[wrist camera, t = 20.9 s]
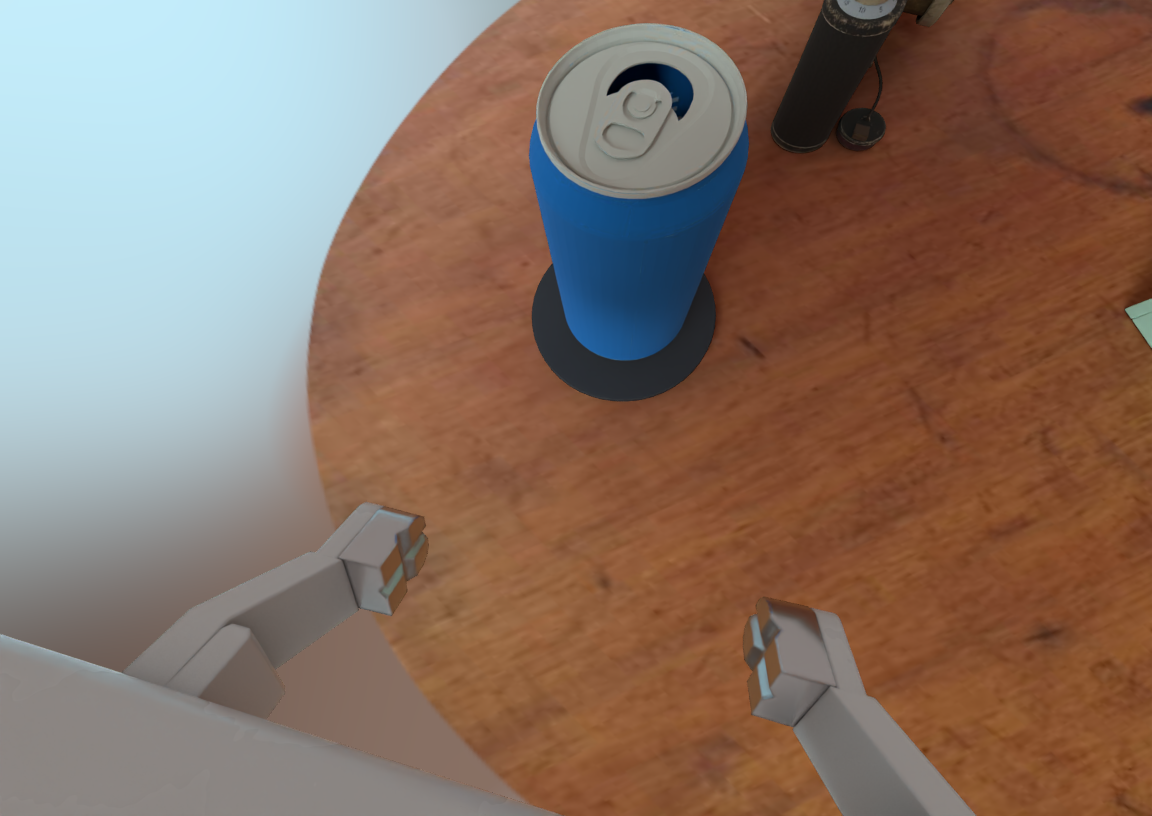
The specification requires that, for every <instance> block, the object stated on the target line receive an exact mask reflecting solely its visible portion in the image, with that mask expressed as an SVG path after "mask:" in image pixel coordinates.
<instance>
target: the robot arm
mask: <svg viewBox="0 0 1152 816" xmlns="http://www.w3.org/2000/svg"><path fill="white" fill-rule="evenodd" d="M425 526H426V524H425V519H424V517H423V516H420V515H416V514H412V513H408V512H404V511H401V510H397V509H393V508H389V507H386V506H382V505H378V504H374V503H369V502H365V503H363V504H361V505H359V506H358V507H357V508H356V509H355V510H354V512H353V513H352V514H351V515H350V516H349V517H348V518H347V519H346V520H345V521H344V522H343V524H342V525H341V526H340V527H339V528H338V529H337V530H336V531H335V532H334V534H333V535H332V536H331V537H330V538H329V539H328V540H327V541H326V542H325V543H324V544H323V545H322V547H321V548H320V549H319V550H318V551H317V552H316V553H315V552H308V553H306V554H304V555H302V556H300V557H298V558H296V559H294V560H291V561H289V562H287V563H285V564H283V565H281V566H279V567H277V568H274V569H272V570H270V571H268V572H266V573H264V574H262V575H260V576H258V577H256V578H254V579H251V580H249V581H248V582H245V583H243V584H241V585H239V586H237V587H235V588H233V589H231V590H228V591H226V592H224V593H222V594H220V595H218V596H216V597H214V598H212V599H209V600H208V601H205V602H203V603H201V604H199V605H197V606H195V607H193V608H190V609H189V610H188V611H187V612H186V613H185V614H184V615H183V616H182V617H181V618H180V619H179V620H177V622H175V623H174V624H173V625H172V626H171V627H170V628H169V629H168V630H167V631H166V632H165V633H164V634H163V635H161V636H160V637H159V638H158V639H157V640H156V641H155V642H154V643H153V644H152V645H151V646H150V647H148V648H147V649H146V650H145V651H144V652H143V653H142V654H141V655H140V656H139V657H138V658H137V659H136V660H134V662H132V663H131V664H130V665H129V666H128V667H127V668H126V669H125V670H124V671H123V672H122V673H120V672H116V671H113V670H111V669H107V668H104V667H101V666H98V665H95V664H92V663H89V662H86V661H83V660H79V659H76V658H73V657H70V656H67V655H64V654H61V653H57V652H55V651H52V650H48V649H45V648H42V647H39V646H36V645H33V644H30V643H27V642H23V641H20V640H17V639H14V638H11V637H8V636H5V635H2V634H0V816H563V815H560V814H557V813H554V812H551V811H548V810H545V809H542V808H539V807H535V806H532V805H529V804H526V803H523V802H520V801H516V800H514V799H511V798H508V797H504V796H501V795H498V794H495V793H492V792H489V791H486V790H483V789H480V788H476V787H473V786H470V785H467V784H464V783H461V782H458V781H455V780H451V779H449V778H445V777H442V776H439V775H436V774H433V773H430V772H427V771H424V770H420V769H418V768H414V767H411V766H408V765H405V764H402V763H399V762H396V761H393V760H390V759H387V758H383V757H380V756H377V755H374V754H371V753H368V752H365V751H362V750H358V749H356V748H352V747H349V746H346V745H343V744H340V743H337V742H334V741H331V740H328V739H325V738H321V737H318V736H315V735H312V734H309V733H306V732H303V731H300V730H296V729H294V728H290V727H287V726H284V725H281V724H278V723H275V722H272V721H269V720H266V719H267V718H268V717H269V715H270V714H271V712H272V711H273V710H274V708H275V707H276V705H277V704H278V703H279V701H280V700H281V698H282V697H283V695H284V694H285V685H284V684H283V682H282V680H281V679H280V677H279V675H278V674H277V672H276V671H275V670H276V669H277V668H278V667H280V666H281V665H283V664H284V663H285V662H287V661H288V660H290V659H291V658H293V657H294V656H295V655H297V654H298V653H300V652H301V651H302V650H304V649H305V648H306V647H308V646H309V645H311V644H312V643H314V642H315V641H316V640H318V639H319V638H321V637H322V636H323V635H325V634H326V633H328V632H329V631H330V630H332V629H333V628H335V627H336V626H337V625H339V624H340V623H341V622H343V621H344V620H346V619H347V618H348V617H350V616H351V615H353V614H354V613H356V612H357V611H358V610H359V609H358V608H361V609H365V610H369V611H373V612H377V613H381V614H385V615H390V616H392V615H393V614H394V612H395V610H396V609H397V607H398V606H399V604H400V602H401V601H402V599H403V598H404V596H405V594H406V593H407V581H409V580H410V579H412V578H414V577H415V576H417V575H418V573H419V572H420V570H421V568H422V567H423V565H424V562H425V559H426V557H427V554H428V546H429V544H428V538H427V537H426V535H425V534H424V533H423V532H422V531H423V529H424V528H425ZM756 610H757V614H755V615H753V616H750V617H749V619H748V621H747V623H746V625H745V629H744V635H743V652H744V660H745V661H746V663H747V664H748V666H749V667H750V669H751V670H752V674H751V675H750V677H749V679H748V680H747V685H748V692H749V700H750V707H751V715H754V716H758V717H761V718H764V719H768V720H771V721H774V722H777V723H781V724H784V725H787V726H791V727H794V728H793V731H794V733H795V735H796V736H797V738H798V740H799V741H800V743H801V745H802V746H803V748H804V750H805V752H806V753H807V755H808V757H809V758H810V760H811V762H812V764H813V765H814V767H815V769H816V770H817V772H818V774H819V776H820V777H821V779H822V781H823V782H824V784H825V786H826V788H827V789H828V791H829V793H830V794H831V796H832V798H833V800H834V801H835V803H836V805H837V806H838V808H839V810H840V812H841V813H842V815H843V816H976V815H975V814H974V812H973V811H972V810H971V809H970V808H969V807H968V806H967V804H966V803H965V802H964V801H963V800H962V799H961V797H960V796H959V795H958V794H957V793H956V792H955V790H954V789H953V788H952V787H951V786H950V785H949V783H948V782H947V781H946V780H945V779H944V778H943V776H942V775H941V774H940V773H939V772H938V771H937V770H936V768H935V767H934V766H933V765H932V764H931V763H930V761H929V760H928V759H927V758H926V757H925V756H924V754H923V753H922V752H921V751H920V750H919V749H918V747H917V746H916V745H915V744H914V743H913V742H912V740H911V739H910V738H909V737H908V736H907V735H906V734H905V732H904V731H903V730H902V729H901V728H900V727H899V725H898V724H897V723H896V722H895V721H894V720H893V718H892V717H891V716H890V715H889V714H888V713H887V711H886V710H885V709H884V708H883V707H882V706H881V705H880V703H879V702H878V701H877V700H876V699H875V698H873V697H870V696H867V694H866V691H865V689H864V686H863V683H862V680H861V677H860V674H859V671H858V669H857V666H856V663H855V660H854V657H853V654H852V652H851V649H850V646H849V643H848V640H847V637H846V634H845V632H844V629H843V626H842V623H841V620H840V618H839V617H838V616H837V615H836V614H835V613H832V612H827V611H823V610H818V609H814V608H809V607H808V606H804V605H799V604H795V603H790V602H786V601H781V600H777V599H772V598H768V597H762V598H760V599H759V601H758V602H757V604H756Z"/></svg>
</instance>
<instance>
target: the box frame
mask: <svg viewBox="0 0 1152 816" xmlns="http://www.w3.org/2000/svg"><path fill="white" fill-rule="evenodd" d="M1125 311H1126V312H1127V314H1128V315H1129V316H1130V318H1134V319H1132V321H1133V322H1134V324H1135V325H1136V327H1137V328H1138V329H1139V331H1140V332H1141V334H1142V335H1143V337H1144V338H1145V339H1146V341H1147V342H1148V344H1149V345H1150V347H1151V348H1152V298H1151V299H1148V300H1146V301H1143V302H1141V303H1138V304H1135V305H1133V306H1130V307H1128V308H1126V309H1125Z"/></svg>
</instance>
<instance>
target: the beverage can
mask: <svg viewBox="0 0 1152 816" xmlns="http://www.w3.org/2000/svg"><path fill="white" fill-rule="evenodd" d="M746 112H747V93H746V89H745V85H744V81H743V79H742V76H741V74H740V72H739V70H738V68H737V67H736V65H735V64H734V62H733V61H732V60H731V58H730V57H729V56H728V55H727V54H726V53H725V52H724V51H723V50H722V49H721V48H720V47H718V46H717V45H716V44H715V43H713V42H712V41H710V40H709V39H707V38H705V37H703V36H701V35H699V34H697V33H695V32H692V31H690V30H687V29H684V28H680V27H676V26H672V25H665V24H653V23H643V24H631V25H625V26H620V27H616V28H612V29H608V30H606V31H603V32H600V33H598V34H595V35H593V36H591V37H589V38H587V39H585V40H584V41H582V42H581V43H579V44H577V45H576V46H574V47H573V48H572V49H571V50H569V51H568V52H567V53H566V54H564V55H563V56H562V58H561V59H560V60H559V61H558V62H557V63H556V64H555V65H554V67H553V68H552V69H551V71H550V72H549V73H548V75H547V77H546V79H545V81H544V82H543V85H542V87H541V90H540V92H539V97H538V101H537V109H536V121H535V123H534V126H533V130H532V135H531V139H530V151H529V159H530V168H531V172H532V177H533V181H534V185H535V189H536V194H537V198H538V202H539V206H540V211H541V215H542V219H543V223H544V228H545V232H546V236H547V240H548V245H549V249H550V253H551V257H552V262H553V266H554V270H555V274H556V279H557V283H558V287H559V291H560V296H561V300H562V304H563V308H564V313H565V317H566V321H567V323H568V326H569V328H570V330H571V331H572V333H573V335H574V336H575V337H576V339H577V340H578V341H579V342H580V343H581V344H582V345H583V346H585V347H586V348H587V349H589V350H590V351H592V352H594V353H595V354H597V355H600V356H602V357H605V358H609V359H613V360H637V359H641V358H645V357H648V356H650V355H653V354H655V353H656V352H658V351H660V350H662V349H663V348H664V347H666V346H667V345H668V344H669V343H670V342H671V341H672V340H673V339H674V338H675V337H676V336H677V334H678V333H679V331H680V329H681V328H682V326H683V323H684V321H685V318H686V316H687V313H688V311H689V308H690V306H691V303H692V301H693V298H694V296H695V293H696V291H697V288H698V286H699V283H700V281H701V278H702V276H703V273H704V271H705V268H706V266H707V263H708V261H709V258H710V256H711V253H712V251H713V248H714V246H715V243H716V241H717V238H718V236H719V233H720V231H721V228H722V226H723V223H724V221H725V218H726V216H727V213H728V211H729V209H730V206H731V204H732V201H733V199H734V196H735V194H736V191H737V189H738V186H739V184H740V181H741V179H742V176H743V174H744V171H745V167H746V163H747V159H748V148H749V138H748V128H747V123H746Z"/></svg>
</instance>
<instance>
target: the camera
mask: <svg viewBox="0 0 1152 816" xmlns="http://www.w3.org/2000/svg"><path fill="white" fill-rule="evenodd" d="M953 1H954V0H824V2H823V5H822V9H821V12H820V14H819V16H818V19H817V21H816V23H815V26H814V28H813V30H812V33H811V35H810V37H809V40H808V42H807V45H806V47H805V49H804V52H803V54H802V56H801V59H800V61H799V63H798V66H797V68H796V70H795V73H794V75H793V77H792V79H791V82H790V84H789V86H788V88H787V91H786V93H785V95H784V97H783V100H782V102H781V104H780V107H779V109H778V111H777V113H776V116H775V118H774V120H773V122H772V125H771V134H772V137H773V139H774V140H775V142H776V143H777V144H778V145H779V146H781V147H782V148H784V149H786V150H788V151H791V152H796V153H807V152H811V151H814V150H816V149H818V148H820V147H821V146H822V145H823V144H824V143H825V142H826V140H827V139H828V137H829V135H830V133H831V130H832V129H833V127H834V125H835V124H836V122H837V120H838V119H839V117H840V115H841V114H842V112H843V110H844V109H845V107H846V105H847V103H848V102H849V100H850V98H851V97H852V95H853V93H854V92H855V90H856V88H857V87H858V85H859V83H860V81H861V80H862V78H863V76H864V75H865V73H866V71H867V70H868V68H870V67H871V66H872V64H873V61H874V63H875V66H876V70H877V73H878V77H879V92H878V96H877V99H876V101H875V103H874V105H873V107H872V109H867V108H856V109H852V110H850V111H848V112H847V113H845V114H844V115H843V116H842V117H841V119H840V121H839V124H838V128H837V131H836V135H837V139H838V140H839V142H840V143H841V144H842V145H843V146H844V147H846V148H848V149H851V150H855V151H859V150H866V149H868V148H870V147H872V146H873V145H874V144H875V143H876V142H878V141H879V140H880V139H881V138H882V137H883V135H884V133H885V129H886V124H885V121H884V119H883V117H882V116H881V115H880V114H879V113H877V112H876V111H874V109H875V107H876V105H877V103H878V101H879V98H880V95H881V91H882V75H881V72H880V68H879V65H878V62H877V58H876V54H877V53H878V51H879V49H880V48H881V46H882V44H883V43H884V41H885V39H886V37H887V36H888V34H889V32H890V31H891V29H892V27H893V26H894V25H895V24H896V22H897V21H898V19H899V17H900V16H901V14H902V12H906V13H910V14H914V15H918V16H917V19H916V24H918V25H922V26H927V27H930V26H932V25H933V24H934V23H935V22H936V21H937V20H938V19H939V18H940V16H941V15H942V14H943V12H944V11H945V10H946V8H947V7H948V5H950V4H951V3H952V2H953Z"/></svg>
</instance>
